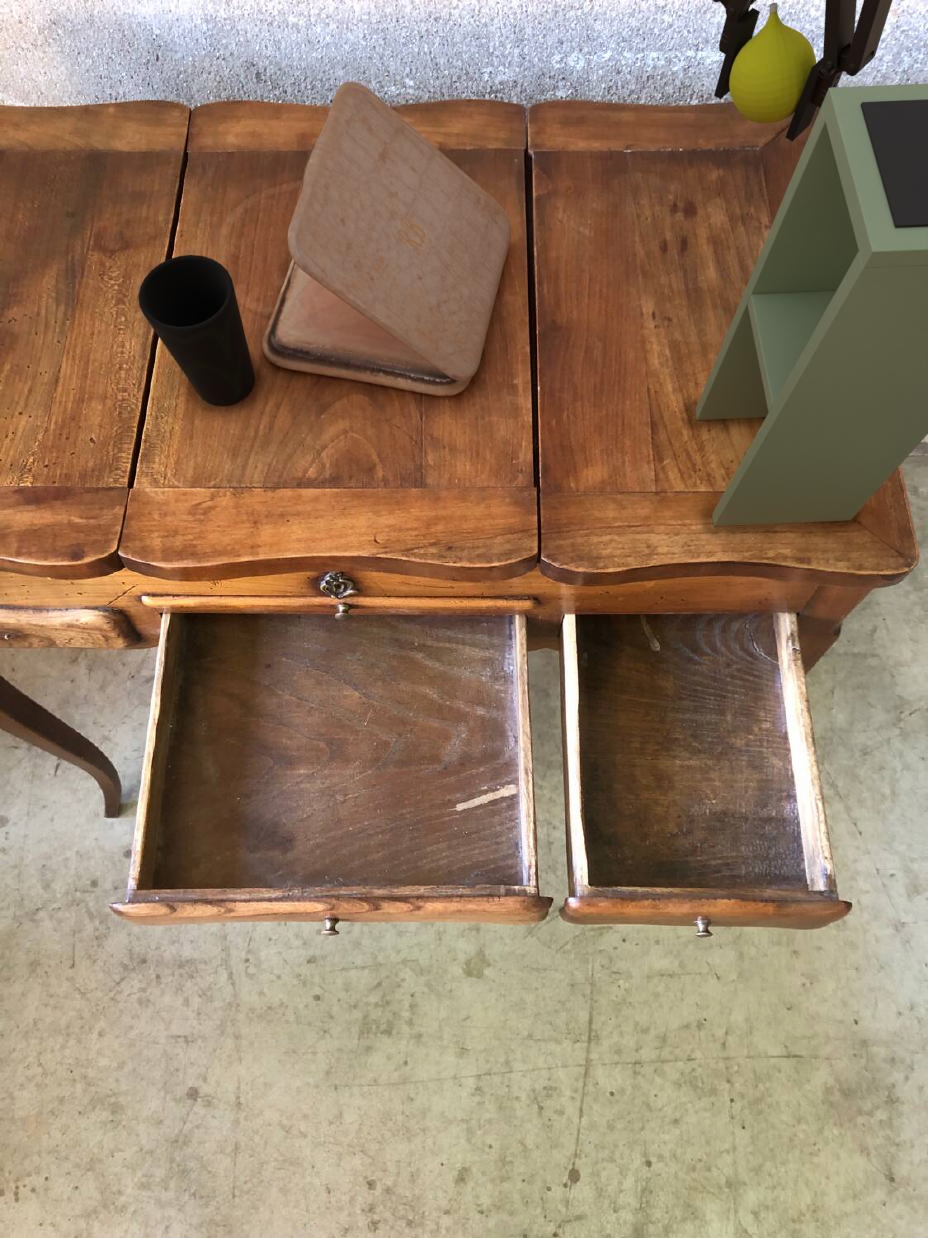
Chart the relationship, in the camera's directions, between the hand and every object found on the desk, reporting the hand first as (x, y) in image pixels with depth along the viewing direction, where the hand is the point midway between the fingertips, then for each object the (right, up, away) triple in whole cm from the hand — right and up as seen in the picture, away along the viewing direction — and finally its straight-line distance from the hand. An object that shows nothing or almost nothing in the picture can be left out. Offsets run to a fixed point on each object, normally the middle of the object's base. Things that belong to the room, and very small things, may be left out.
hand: (761, 109), depth 78 cm
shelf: (+1, -32, 0) cm, 32 cm away
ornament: (0, 0, 0) cm, 0 cm away
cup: (-49, -24, +3) cm, 55 cm away
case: (-34, -15, +6) cm, 38 cm away
